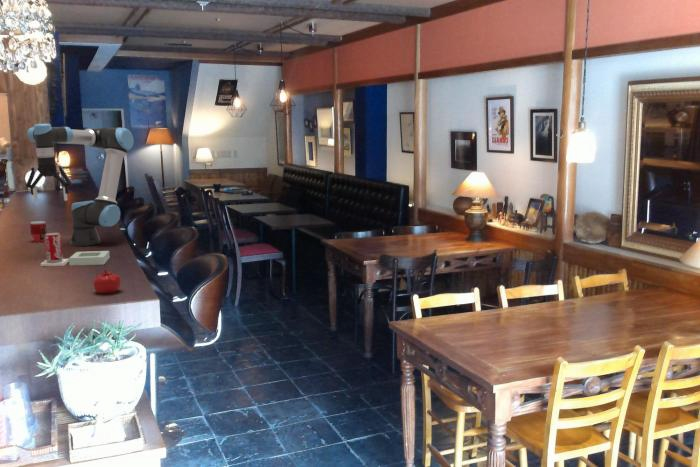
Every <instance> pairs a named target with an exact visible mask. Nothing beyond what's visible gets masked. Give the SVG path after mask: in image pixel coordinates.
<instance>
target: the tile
mask: <svg viewBox="0 0 700 467" xmlns="http://www.w3.org/2000/svg"><path fill="white" fill-rule="evenodd" d="M67 263H69V258H63V259H62V261H60V262H47V261H46V259H44V261H42V262H41V263H40V267H58V266H59V267H60V266H62V267H64V266H65V265H67Z"/></svg>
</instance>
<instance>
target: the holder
mask: <svg viewBox="0 0 700 467" xmlns="http://www.w3.org/2000/svg"><path fill="white" fill-rule="evenodd" d="M68 259H69V262H68V263H69V267H71V266H72V267H73V266H96V265H101V266H102V265H105V264H106V263H107V262H108V261H109V259H111V258H110V250H100V251H99V250H98V251H96V250H95V251H94V250H93V251H89V250H88V251H75V253H73V254H72V255H70V256H69V257H68Z"/></svg>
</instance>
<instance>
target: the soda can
mask: <svg viewBox="0 0 700 467" xmlns="http://www.w3.org/2000/svg"><path fill="white" fill-rule="evenodd" d="M44 241H45V242H44V251H45V252H44V254H45V260H46V261H47V262H60V261H62V259H64V257H63V256H64V254H63V245H62V236H61V234H60V232H49V233H47V234H45V237H44Z"/></svg>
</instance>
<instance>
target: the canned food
mask: <svg viewBox="0 0 700 467" xmlns="http://www.w3.org/2000/svg"><path fill="white" fill-rule="evenodd" d="M29 226H30V227H29V228H30V238H31V239H30V240H31V243H33V242H43V243H45V242H44V237H45V234H47V232H48V231H47V223H46V221H44V220H39V221H38V220H37V221H36V220H35V221H31V222H29Z"/></svg>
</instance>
